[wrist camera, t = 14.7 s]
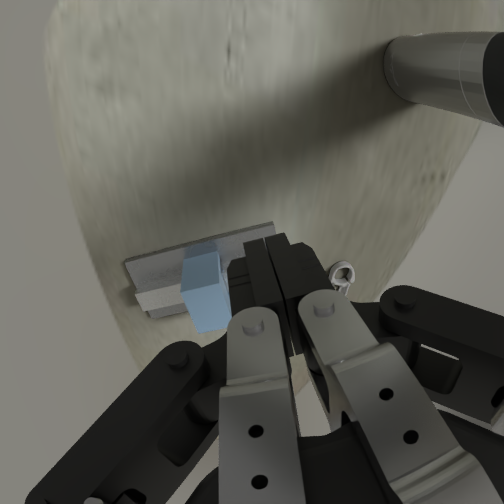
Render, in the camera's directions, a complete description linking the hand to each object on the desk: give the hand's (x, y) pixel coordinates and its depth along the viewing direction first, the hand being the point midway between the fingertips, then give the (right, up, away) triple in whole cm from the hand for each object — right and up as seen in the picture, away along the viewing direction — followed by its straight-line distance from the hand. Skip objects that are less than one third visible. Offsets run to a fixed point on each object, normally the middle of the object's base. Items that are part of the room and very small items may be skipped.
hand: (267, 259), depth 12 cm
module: (-6, -3, +31) cm, 32 cm away
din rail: (-7, -2, +32) cm, 33 cm away
